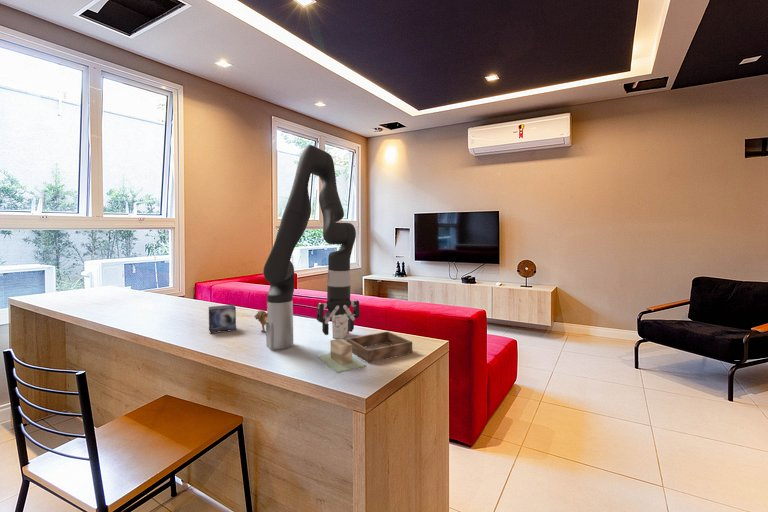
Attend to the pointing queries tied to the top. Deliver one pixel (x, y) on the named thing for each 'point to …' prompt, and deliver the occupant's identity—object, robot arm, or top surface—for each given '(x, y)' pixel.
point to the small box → (222, 318)
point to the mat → (338, 367)
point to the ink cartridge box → (340, 326)
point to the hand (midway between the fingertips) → (338, 332)
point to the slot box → (396, 349)
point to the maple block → (341, 351)
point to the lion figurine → (261, 318)
